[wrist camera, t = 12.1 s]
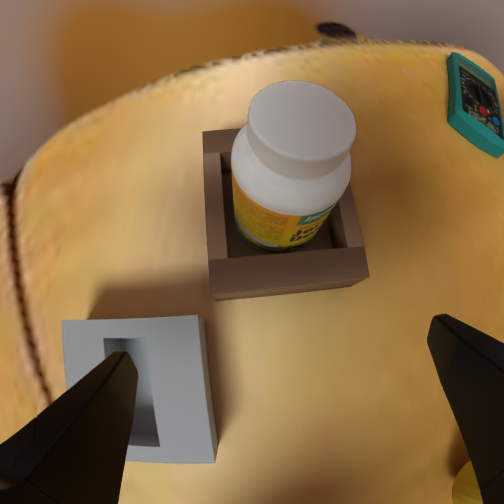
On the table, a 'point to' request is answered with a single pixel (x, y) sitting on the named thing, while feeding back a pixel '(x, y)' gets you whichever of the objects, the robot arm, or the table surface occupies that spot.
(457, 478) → the lemon
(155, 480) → the table surface
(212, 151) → the walnut socket block
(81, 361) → the grey slot block
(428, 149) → the table surface
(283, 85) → the supplement bottle
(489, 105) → the digital multimeter
